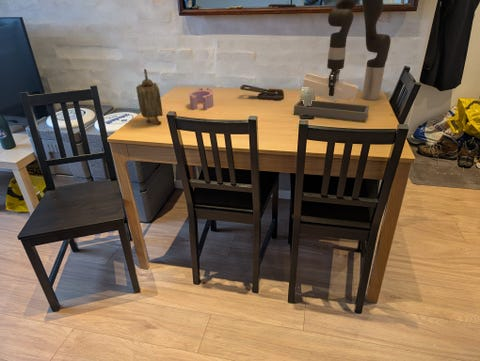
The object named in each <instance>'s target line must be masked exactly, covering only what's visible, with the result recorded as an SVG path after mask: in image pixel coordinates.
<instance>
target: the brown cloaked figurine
mask: <svg viewBox="0 0 480 361" xmlns="http://www.w3.org/2000/svg"><path fill="white" fill-rule="evenodd" d="M143 71H144V72H143V73H144V78H145V79H143V80H142V82H141V84H139V85H137V86H136V88H135V89H136V94H137V100H138V106H139V111H140V114H141V116H142V117H143V118H147V119H146V122H147V123H150V122H151V120H150V118H154V119H156V121H157V124H158V125H162V121H161V120H159V117H163V116H164V115H163V107H162V100H161V94H160V93H161V92H160V88H159V86H158V84H157V83H156V82H153V81H152V80H151V79H149V78H148V72H147V69H146V68H144V69H143Z"/></svg>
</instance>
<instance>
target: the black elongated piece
mask: <svg viewBox="0 0 480 361" xmlns="http://www.w3.org/2000/svg"><path fill="white" fill-rule="evenodd" d="M239 89H240V90H242V91H248V92H249V91H250V92H255V93H258V94H257V99H258V100H259V101H260V100H263V101H271V100H273V101H272V102H282V101H283V100H284V98H285V94H284V90H283V89H281V88H280V89H279V88H267V89H266V88H262V87H258V86H254V85H253V86H252V85H250V84H249V85H248V84H242V85H241V86H240V87H239ZM281 100H282V101H281Z"/></svg>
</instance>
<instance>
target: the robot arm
mask: <svg viewBox="0 0 480 361" xmlns="http://www.w3.org/2000/svg"><path fill="white" fill-rule="evenodd" d="M358 1H359V0H338V1H337V2H336V4H335V5H334V6H333V7H332V8H331V10H330V11H329V14H328V15H327V16H328V17H327V21H328V24H329V25H330V26H331V27H341V28H340V29H339V31H337V32H333V33H331V34H330V39H329V47H328V52H327V65H326V68H327V69H329V70H331V71H330V72H329V75H328V78H329V85H328V87H329V96H333V95H334V88H335V84H336V83H337V80H338V81H340V80H339V79H340V73H341V70H343V69H344V68H345V60H346V49H347V48H346V46H347V39H348V34H349V32H350V29H351V26H352V24H353V22H354V13H353V11H352V9H354V8H355V7H356V5H357V3H358ZM361 4H362V11H363V16H364V27H365V47H366V50H367V51H368V52H369V53H375V54H376V56H375V57H374V58H370V59H368V60H367V61H366V66H365V72H364V73H365V74H364V80H363V87H362V92H361V93H362V94H361V98H362V99H363V100H367V101H376V100H379V99H380V97H381V90H382V83H383V79H384V78H383V77H384V72H385V66H386V63H387V60H388V56H389V51H390V47H391V37H390V35H389V34H384V33H378V32H377V23H378V21H379V19H380V17H381V15H382V13H383V11H384V0H361ZM331 83H333V85H331Z"/></svg>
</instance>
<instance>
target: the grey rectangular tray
mask: <svg viewBox="0 0 480 361" xmlns="http://www.w3.org/2000/svg"><path fill="white" fill-rule="evenodd" d="M369 110H370V105H365V104H356V103H355V104H353V103H344V102H335V101H332V102H331V101H325V100H313V101H312V107H307V106H303V101H302V98H300V99H299V100H298V101H297V102H296V103H295V104H294V106H293V115H294V116H301V115H300V114H308V115H312V116H314V117H313V118H320V119H329V120H339V121H347V122H355V123H364V124H365V123H366V120H367V117H368V115H369Z"/></svg>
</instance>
